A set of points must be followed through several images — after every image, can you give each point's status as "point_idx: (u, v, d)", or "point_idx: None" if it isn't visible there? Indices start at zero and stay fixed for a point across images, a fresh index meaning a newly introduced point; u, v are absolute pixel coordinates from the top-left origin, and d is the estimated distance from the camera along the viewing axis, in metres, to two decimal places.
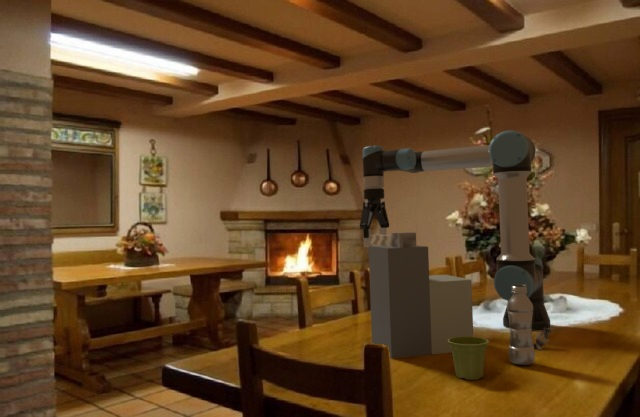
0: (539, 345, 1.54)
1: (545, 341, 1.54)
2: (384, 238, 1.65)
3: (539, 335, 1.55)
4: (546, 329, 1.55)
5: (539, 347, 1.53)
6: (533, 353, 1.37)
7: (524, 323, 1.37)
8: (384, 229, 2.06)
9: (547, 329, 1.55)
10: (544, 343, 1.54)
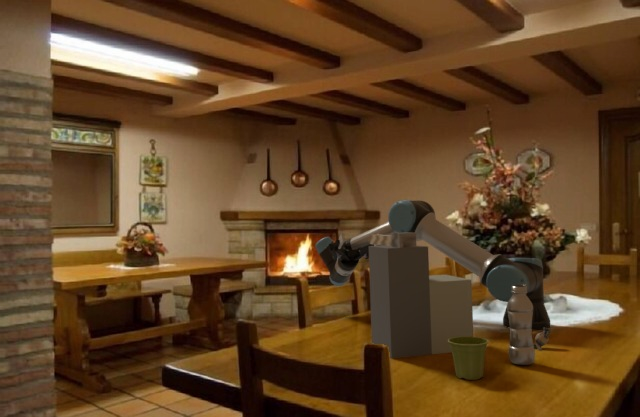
0: (539, 345, 1.54)
1: (545, 341, 1.54)
2: (384, 238, 1.65)
3: (539, 335, 1.55)
4: (546, 329, 1.55)
5: (539, 347, 1.54)
6: (533, 353, 1.37)
7: (524, 323, 1.37)
8: None
9: (547, 329, 1.55)
10: (544, 343, 1.54)
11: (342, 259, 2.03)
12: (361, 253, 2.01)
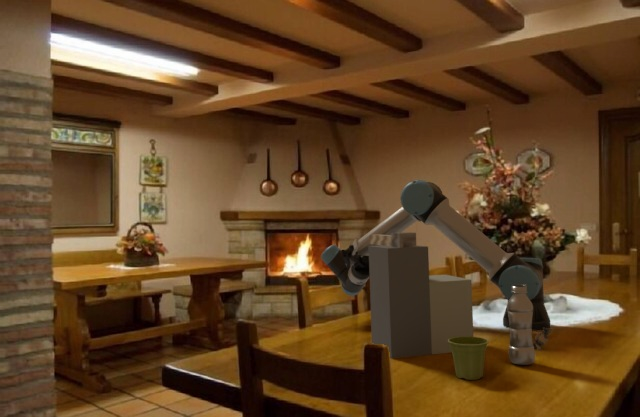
0: (538, 345, 1.54)
1: (544, 341, 1.54)
2: (384, 238, 1.65)
3: (538, 335, 1.55)
4: (545, 329, 1.56)
5: (538, 347, 1.54)
6: (533, 353, 1.37)
7: (524, 323, 1.37)
8: None
9: (546, 329, 1.55)
10: (543, 343, 1.54)
11: (356, 266, 1.86)
12: None
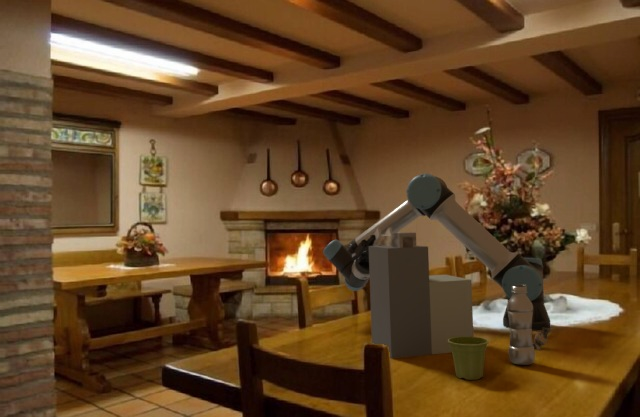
0: (538, 345, 1.54)
1: (544, 341, 1.54)
2: (384, 238, 1.65)
3: (538, 335, 1.55)
4: (545, 329, 1.56)
5: (538, 347, 1.54)
6: (533, 353, 1.37)
7: (524, 323, 1.37)
8: None
9: (546, 329, 1.55)
10: (543, 343, 1.54)
11: (360, 261, 1.82)
12: None
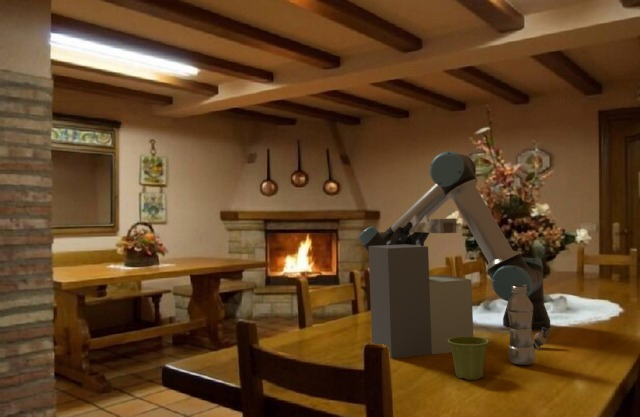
0: (538, 345, 1.54)
1: (544, 341, 1.54)
2: (421, 225, 1.68)
3: (538, 335, 1.55)
4: (544, 329, 1.56)
5: (538, 347, 1.54)
6: (533, 353, 1.37)
7: (524, 323, 1.37)
8: None
9: (545, 329, 1.56)
10: (543, 343, 1.54)
11: None
12: (412, 241, 1.82)
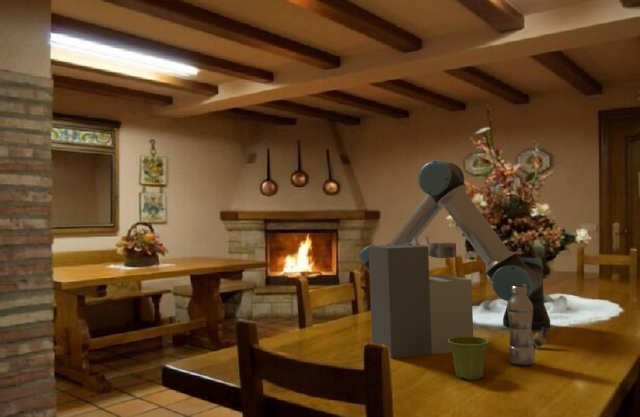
0: (537, 345, 1.54)
1: (543, 341, 1.54)
2: None
3: (537, 335, 1.55)
4: (544, 329, 1.56)
5: (538, 347, 1.54)
6: (533, 353, 1.37)
7: (524, 323, 1.37)
8: None
9: (545, 329, 1.56)
10: (542, 343, 1.54)
11: None
12: None
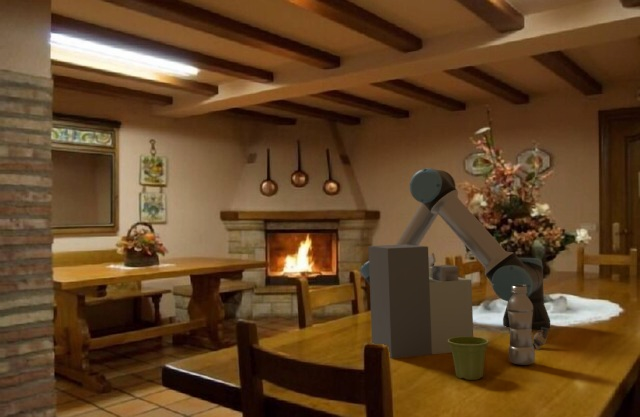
0: (537, 345, 1.54)
1: (543, 341, 1.54)
2: None
3: (537, 335, 1.55)
4: (544, 329, 1.56)
5: (537, 347, 1.54)
6: (533, 353, 1.37)
7: (524, 323, 1.37)
8: None
9: (545, 329, 1.56)
10: (542, 343, 1.54)
11: None
12: None
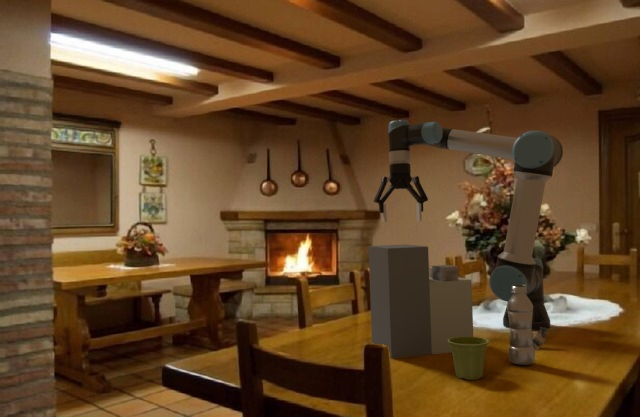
0: (536, 345, 1.54)
1: (542, 341, 1.54)
2: None
3: (536, 335, 1.55)
4: (543, 329, 1.56)
5: (537, 347, 1.54)
6: (533, 353, 1.37)
7: (524, 323, 1.37)
8: (418, 204, 2.00)
9: (544, 329, 1.56)
10: (541, 343, 1.55)
11: None
12: (407, 189, 2.01)
